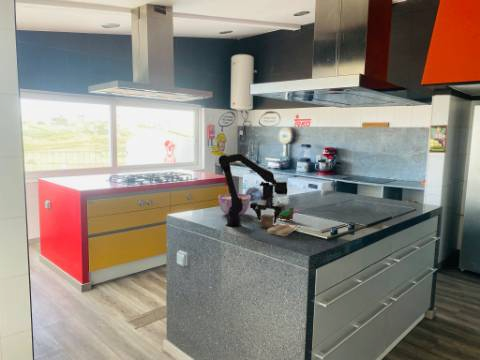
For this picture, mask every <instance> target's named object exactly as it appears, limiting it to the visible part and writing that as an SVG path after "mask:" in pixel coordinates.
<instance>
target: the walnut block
mask: <svg viewBox="0 0 480 360" xmlns="http://www.w3.org/2000/svg"><path fill="white" fill-rule="evenodd" d="M273 226H274V215H273V214H267V213H265V214H261V219H260V227H262V228H267V229H269V228H271V227H273Z"/></svg>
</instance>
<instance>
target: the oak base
mask: <svg viewBox="0 0 480 360" xmlns="http://www.w3.org/2000/svg"><path fill="white" fill-rule="evenodd" d="M295 226H296V225H293V226H292V225H291V224H286V223H275V225H274V224H273V226H272V227H270V228H267V231H266V233H267V234H271V235H277V236H282V237H288V235H289V234H292V233H293V232H294V231H295V230H294V228H295Z"/></svg>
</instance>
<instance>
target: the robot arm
mask: <svg viewBox="0 0 480 360" xmlns="http://www.w3.org/2000/svg"><path fill="white" fill-rule="evenodd" d="M236 162H240V163H242V164H243V165H245V166H246V167H248V168H249V169H251V170H252V171H253V172H254V173H256V174H257V175H258V176H259V177H260V178H261V179H262V180H263V181H262V180H261V182H260V183H259V186H260V187H262V194H261V198H260V200H259V201H253V202H251V203H249V207H250V209H252V210H253V211H254V212H255V214H256V216H257V220H258V221H259V222H261V216H262V211H266V210H267V209H269V210H274V211H273V214H274V215H273V224H277V221H278V216H279V214H280V213H281V212H283V211H285V206H284V205H275V204H274V197H275V196H274V193H275V194H276V195H287V194H288V182H287V181H277V180H276V179H275V175H274V173H273V172H272V170H269V169H267V168H265V167H262V166H260V165H259V164H258V163H256V162H254V161H253V160H252V159H249V158H248V157H247V156H245V155H244V154H243V153H242V152H238V153H236V154H235V153H234V154H224V153H223V154H222V155H220V156H219V157H218V164H219V166H220V168H221V169H222V171H223V173H224V174H223V175H224V177H225V180H226V185H227V187H228V191H229V194H230V195H231V202H232V206H231V207H230V208H229V210H228V214H226V215H227V217H226V218H227V221H226V224H225V226H226V227H230V228H231V227H233V228H237V227H240V226H242V223H241V215H240V214H239V212H241V211H242V209H243V206H244V203H243V201H242V197H239V196H238V194H239V193H238V191H237V187H236V185H235V180H234V176H233V173H232V170H231V169H232V168H231V164H232V163H236Z"/></svg>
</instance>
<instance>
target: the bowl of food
mask: <svg viewBox="0 0 480 360" xmlns="http://www.w3.org/2000/svg"><path fill="white" fill-rule="evenodd" d="M237 194H238V196H239V197H242V201H243V203H244V206H243V209H242V211H241V212H239V214H240V216H242V215H244V214H246V212H247V211H248V209H249V207H250V204H251V203H250V202H251V198H252V196H251V195H248V194H245V193H237ZM217 198H218V203H219V207H220V210H221V211H222V213H224V214H226V215H227V214H228V210H229V208H230V207H231V206H232V202H231V195H230V193H224V194H219V195H218V197H217Z"/></svg>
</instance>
